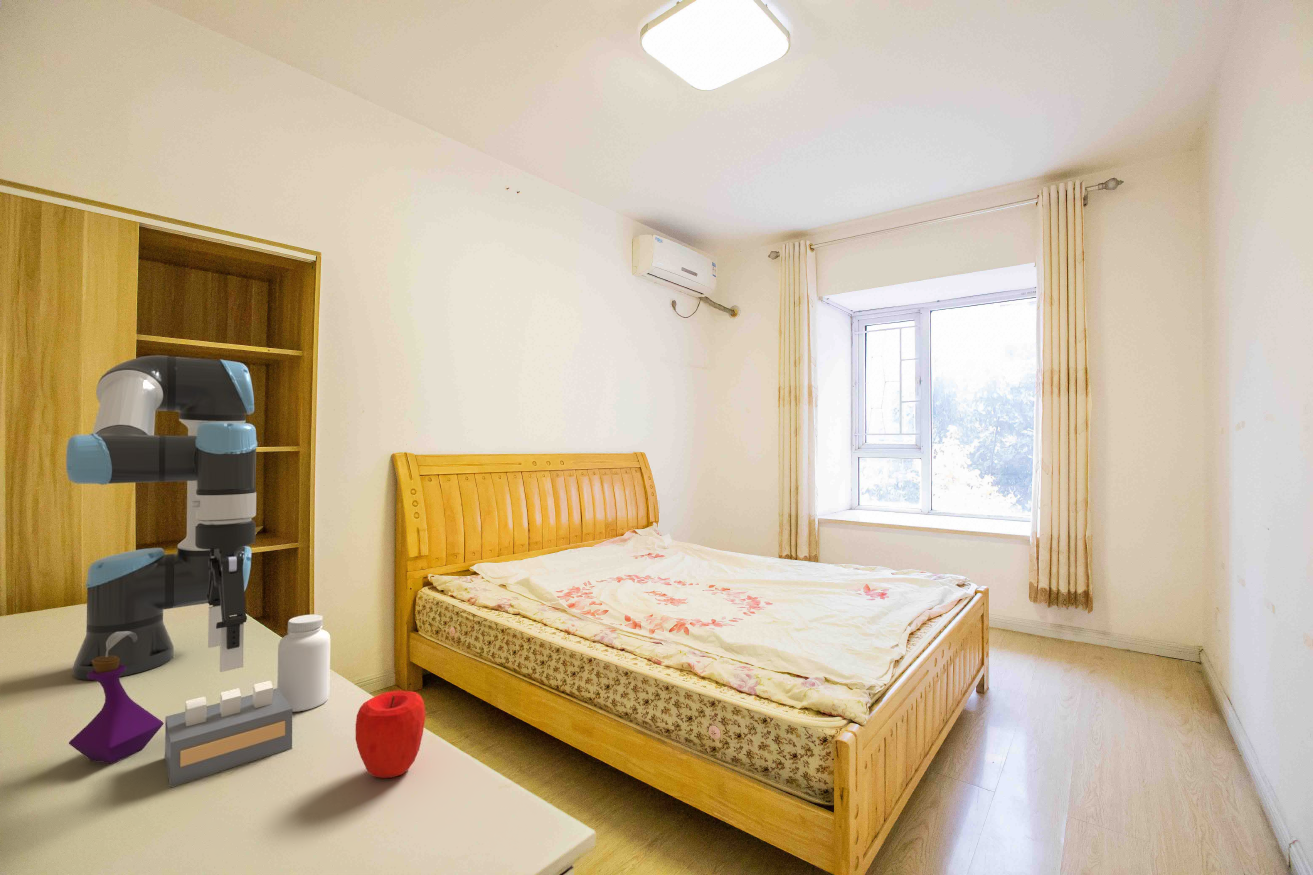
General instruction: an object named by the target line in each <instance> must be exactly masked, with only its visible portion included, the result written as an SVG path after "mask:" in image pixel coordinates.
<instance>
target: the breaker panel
mask: <svg viewBox="0 0 1313 875" xmlns="http://www.w3.org/2000/svg"><path fill="white" fill-rule="evenodd" d="M164 721H165V723H164V724H165V726H164V727H165V730H164V731H165V732H164V733H165V734H164V736H165V737H164V740H165V741H164V742H165V744H164V746H165V748H164V759H165V765H166V770H167V778H168V782H169V787H170V788H173V787H176V786H179V785H183V784H185V783H189V782H192V781H196V780H198V779H202V778H205V777H207V776H211V775H213V774H216V773H220V772H224V771H226V770H229V769H232V768H235V767H238V766H242V765H246V764H249V763H251V762H254V761H257V760H260V759H264V758H266V757H269V756H272V755H276V754H279V753H282V752H285V751H288V750H292V749H293V712H292V707H291V706H290V704H289V703H288V701H287V700H286V698H285V697H284V696H283V694H282V693H281V691H280V690H279V688H277V687H276V688H273V698H272V704H269V705H265V706H262V707H258V708H255V707H254V704H253V694H250V695H244V696H241V707H240V712H239V713H236V714H232V715H228V716H224V717H222V716H221V712H220V702H218V703H215V704H214V703H213V704H209V705H207V712H206V722H202V723H198V724H195V725H191V726H187V727H186V721H185V711H182V712H179V713H174V714H170V715H166V716H165V720H164Z"/></svg>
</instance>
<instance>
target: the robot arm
mask: <svg viewBox="0 0 1313 875" xmlns="http://www.w3.org/2000/svg"><path fill="white" fill-rule="evenodd" d="M253 389H254V388H253V384H252V378H251V374H250V372H249V368H248V367H247V366H246V365H245V364H244V363H242V362H239V361H231V360H225V359H221V358H220V359H210V358H201V357H200V358H196V357H184V356H169V355H156V354H155V355H147V356H145V355H144V356H140V357H137V358H136V357H135V358H133V359H128V360H126V361H124V362H121V363H119V364H117V365H115V366H113V367H111V368H110V369H109V370H107V371H105V373H104V374H102V375H101V377H100V378H99V379H98V383H97V386H96V390H95V394H96V395H95V397H96V398H97V400H98V403H99V407H98V409H97V415H96V418H95V422H94V426H93V428H92V429H93V430H92V432H91V433H89V434H76V435H72V436H71V437H69V439H68V441H67V445H66V454H65V455H66V456H65V457H66V458H65V462H66V463H65V464H66V465H65V467H66V475H67V478H68V480H69V481H70V482H72V483H74V484H78V485H79V484H80V485H81V484H86V485H87V484H89V485H91V484H94V485H96V484H97V485H101V486H103V485H108V484H109V485H110V484H134V483H135V484H136V483H156V482H157V483H159V482H160V483H161V482H162V483H163V482H168V483H169V482H187V483H186V484H187V485H186V486H187V490H186V491H187V492H186V493H187V496H186V498H187V499H186V537H185V538H184V539H183V540H181V541H180V542H179V543H178V544H177V546H176V547H177V548H176V549H177V550H176V551H177V553H167V554H166V552H165V549H164V548H162V547H151V548H141V549H136V550H130V551H126V552H122V553H117V554H116V553H115V554H113V555H109V556H105V557H102V558H99V559H97V560H95V561H94V562H92V563H91V564H90V566H89V567H88V571H87V579H86V580H87V581H86V584H85V588H86V589H87V592H86V629H85V630H86V631H85V632H86V633H85V637H84V640H83V641H82V644H81V647H80V648H79V651H78V653H77V655H76V658H75V661H74V662H73V666H72V670H73V672H72V674H73V675H72V677H73V678H74V679H77V680H83V681H94V680H95V679H89V678H88V677H87V675H88V673H89V672H90V671H92V670H94V666H93V664H92V660H93V659H95V658H96V657H99V656H105V655H106V650H107V649H106V641H107V640H108V638H109V637H110V636H111V635H112V634H113V633H115V632H123V631H130V632H133V633H135V634H136V635H137V640H136V642H135V643H134V642H133V640H132V638H131V637H129V636H128V635H127V636H125V637H124V638H122V639H121V640H120V641H119V642H117V643H116V644H115V645H114V646H113V647H112V648H111V649H109V651H108V655H114V656H117V657H119V658H120V661H119V664H123V665H124V666H125V667H126V670H125V671H124V672H123V673H121V675H120V677H119V678H121V677H125V676H129V675H134V674H138V673H142V672H146V671H149V670H151V669H155V668H157V667H160V666H162V665H164V664H166V663H168V662H170V661H171V660H173V658H174V652H175V651H174V644H173V641H172V640H171V637H170V634H169V632H168V630H167V628H166V626H165V622H164V610H170V609H178V608H183V607H190V606H197V605H198V606H199V605H206V604H208V626H207V628H208V631H207V632H208V633H207V636H208V638H207V639H208V641H207V642H208V645H207V647H208V648H209V649H210V648H216V647H219V672H220V673H223V672H227V671H231V670H232V671H233V670H236V669H237V670H238V669H241V668H244V645H245V644H244V640H245V639H244V637H245V636H244V635H245V634H244V632H245V631H244V628H245V627H244V624H245V623H246V622H247V620H248V616H247V610H246V608H247V607H246V597H245V591H246V589H247V587H248V582H249V578H250V574H251V573H250V572H251V565H252V563H251V562H252V548H251V547H250V545H253V544H254V543H255V542H256V530H257V529H256V528H257V527H256V524H257V523H256V521H255V520H254V519H252V518H254V517H256V516H257V490H256V488H257V487H256V475H257V472H256V470H257V469H256V468H257V447H258V441H257V430H256V427H255V425H253V424H252V423H248V422H247V421H246V419H247V417H246V416H247V415H252V414H254V412H255V403H254V402H255V399H254V390H253ZM156 411H157V412H158V411H160V412H161V411H162V412H163V411H164V412H166V411H167V412H178V421H179V422H181V424H183V425H184V426H186V428H187V429H188V430H187V435H166V434H165V435H159V434H158V435H157V434H155V424H156ZM95 681H96V680H95Z"/></svg>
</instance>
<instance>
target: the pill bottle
mask: <svg viewBox="0 0 1313 875" xmlns="http://www.w3.org/2000/svg"><path fill="white" fill-rule="evenodd" d="M323 624H324V617H323V615H320V614H304V615H298V616H294V617H292V618H290V619H289V620H288V621H287V632H286V633H287V634H286V635H284V636H283V637H282V638H281V639H280V641H279V643H278V646H277V684H276V686H277V687H276V688H279V690H280V691H281V693H282V694H283V696H284V697H285V698H286V700H287V701H288V703H289V704H290V706H291V707H292V713H296V712H301V711H302V712H303V711H308V710H311V709H314V708H317V707H319V706H321V705H323V704H325V703H326V702H327V701H328V700H329V698H330V692H331V691H330V690H331V689H330V687H331V685H330V684H331V635H330V633H329V632H328V631H327V630H324V629H323Z"/></svg>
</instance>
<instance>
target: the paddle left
mask: <svg viewBox="0 0 1313 875" xmlns="http://www.w3.org/2000/svg"><path fill="white" fill-rule="evenodd" d="M207 706H208V704H207V699H206V696H201V697H196V698H193V699H189V700H186V701H185V708H184V709H185V711H184V712H185V721H186V727H187V726H191V725H195V724H198V723H202V722H206V712H207Z"/></svg>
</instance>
